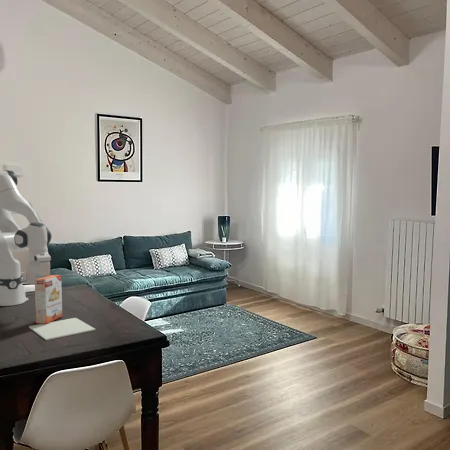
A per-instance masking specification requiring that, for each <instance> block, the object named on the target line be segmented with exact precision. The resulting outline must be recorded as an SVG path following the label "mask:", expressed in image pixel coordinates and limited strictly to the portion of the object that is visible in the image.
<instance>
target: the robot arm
mask: <svg viewBox="0 0 450 450" xmlns="http://www.w3.org/2000/svg"><path fill="white" fill-rule="evenodd" d="M17 185H18V176H17V174H16V173H15V172H14V170H7V169H6V170H0V307H9V306H16V305H17V306H18V305H21V304H23V303H26V302H27V301H29V297H26V288H25V285H23V284H22V282H23V278H22V276H21V275H22V273H21V270H22V269H21V262H20V260H18V259H17V258H14V256H13V252H17V251H22V250H25V249H28V270H29V272H30V273H33V274H34V275H35V279H39V278H42V277H46V276H50V275H51V262H50V261H52V256H51V255H50V254H49V249H48V245H49V244H50V243H51V241H52V233H51V231H50V229H49V228H48V227H47V226H46V224H44V222H43V220H42V219H41V217H40V216H39V214H38V212H37V210H36V209H35V208H34V206H33V204H32V203H31V202H29V201H28V200H27V199H25V197H24V196H23V195H22V194H21V192H20V189H19V188H18V186H17ZM12 213H17V214H19V215H21V216H23V217H25V219H26V220H27V221H28V223H29V224H28V225H27V226H26V227H24V228H21V226H19V225H18V223H17V222H16V221H15V219H14V217H13V215H12Z"/></svg>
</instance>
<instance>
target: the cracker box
mask: <svg viewBox="0 0 450 450" xmlns="http://www.w3.org/2000/svg"><path fill="white" fill-rule="evenodd" d="M62 293H63V292H62V275H61V274H50V275H49V276H46V277H42V278H39V279H36V278H35V279H34V295H35V297H34V298H35V301H34V302H35V303H34V304H35V324H37V325H39V324H47V323H50V322H55V320H58V319H61V318H62V317H63V297H62V296H63V294H62Z"/></svg>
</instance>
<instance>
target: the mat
mask: <svg viewBox="0 0 450 450" xmlns="http://www.w3.org/2000/svg"><path fill="white" fill-rule="evenodd" d="M28 328H29V329H30V330H31V331H33V332H34V333H35V334H36V335H38V336H39V337H41V338H42V339H43V340H45V341H50V340H51V341H52V340H55V339H59V338H65V337H69V336H74V335H79V334H83V333H88V332H89V333H90V332H93V331H96V328H94V327H93V326H91V325H89V324H88V323H86V322H84V321H83V320H81V319H79V318H77V317H72V318H67V319H61V320H57V321H55V320H54V321H52V322H49V323H47V324H35V325H33V324H32V325H29V326H28Z"/></svg>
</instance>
